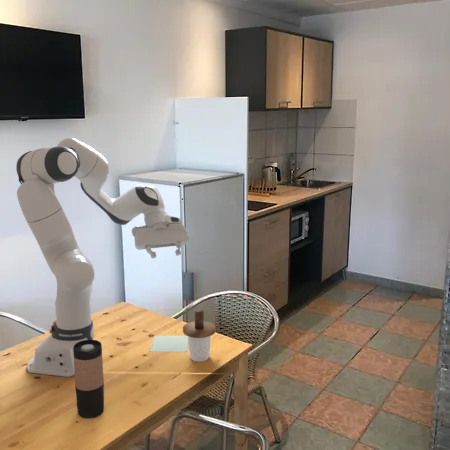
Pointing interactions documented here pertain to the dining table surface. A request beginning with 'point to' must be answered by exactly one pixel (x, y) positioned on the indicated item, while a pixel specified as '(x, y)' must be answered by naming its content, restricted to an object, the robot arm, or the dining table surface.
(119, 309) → the dining table surface
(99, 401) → the travel mug
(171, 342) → the mat
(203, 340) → the white cup
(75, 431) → the dining table surface
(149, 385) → the dining table surface
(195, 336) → the lid
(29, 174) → the robot arm
